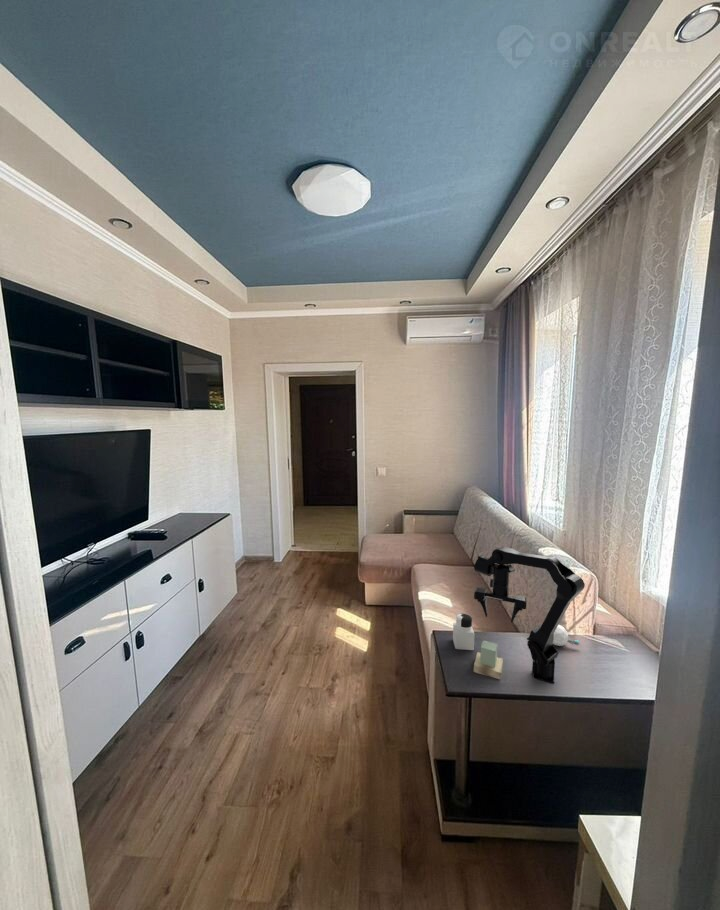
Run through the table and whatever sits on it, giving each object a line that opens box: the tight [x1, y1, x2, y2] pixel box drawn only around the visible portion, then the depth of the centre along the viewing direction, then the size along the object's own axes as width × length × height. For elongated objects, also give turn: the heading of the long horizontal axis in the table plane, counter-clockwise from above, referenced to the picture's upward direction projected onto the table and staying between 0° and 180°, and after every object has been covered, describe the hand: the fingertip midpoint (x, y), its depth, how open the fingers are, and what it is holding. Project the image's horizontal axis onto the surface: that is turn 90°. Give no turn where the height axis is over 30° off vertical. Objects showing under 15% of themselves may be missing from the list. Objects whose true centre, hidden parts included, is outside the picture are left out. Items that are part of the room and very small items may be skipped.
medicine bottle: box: [452, 613, 475, 651], centre depth 147 cm, size 7×7×12 cm
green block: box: [480, 640, 498, 668], centre depth 132 cm, size 5×5×6 cm
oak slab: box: [473, 651, 504, 680], centre depth 133 cm, size 9×9×3 cm
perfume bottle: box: [553, 624, 580, 647], centre depth 149 cm, size 8×8×12 cm
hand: (499, 619), depth 143 cm, fingers open, 9 cm apart
